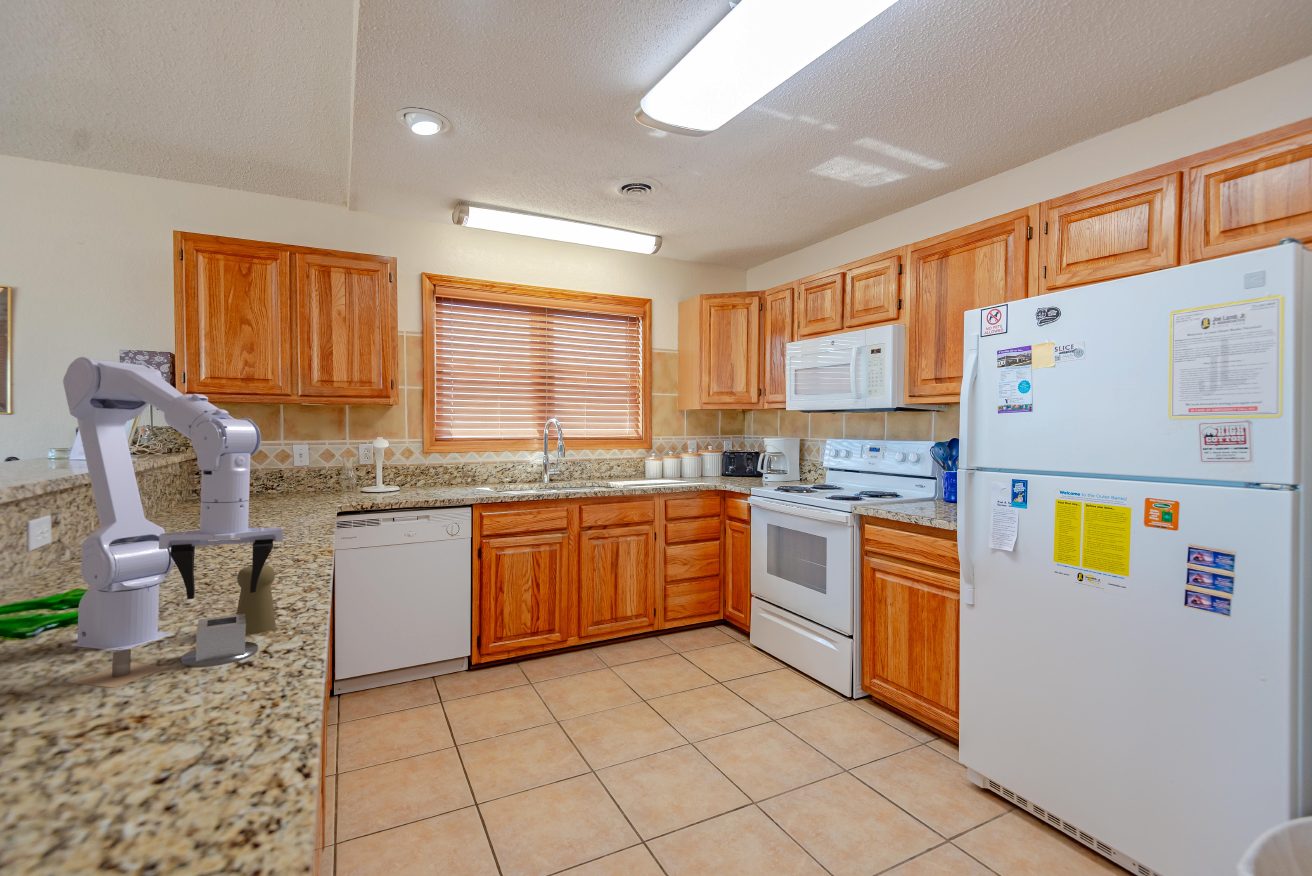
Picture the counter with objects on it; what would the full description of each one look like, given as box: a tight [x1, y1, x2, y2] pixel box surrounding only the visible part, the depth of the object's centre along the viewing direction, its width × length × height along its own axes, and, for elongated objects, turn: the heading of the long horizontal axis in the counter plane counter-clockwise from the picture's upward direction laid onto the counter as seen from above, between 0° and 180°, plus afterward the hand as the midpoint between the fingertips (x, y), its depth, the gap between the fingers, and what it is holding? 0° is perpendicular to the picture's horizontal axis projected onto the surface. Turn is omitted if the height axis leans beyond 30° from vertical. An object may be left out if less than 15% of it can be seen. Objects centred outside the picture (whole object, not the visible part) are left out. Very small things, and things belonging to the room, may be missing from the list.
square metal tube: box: [195, 614, 246, 662], centre depth 86 cm, size 6×6×4 cm
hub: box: [180, 641, 259, 668], centre depth 86 cm, size 9×9×4 cm
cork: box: [235, 564, 277, 636], centre depth 98 cm, size 6×6×11 cm
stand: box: [69, 648, 170, 689], centre depth 79 cm, size 7×7×4 cm
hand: (222, 594), depth 86 cm, fingers open, 7 cm apart
